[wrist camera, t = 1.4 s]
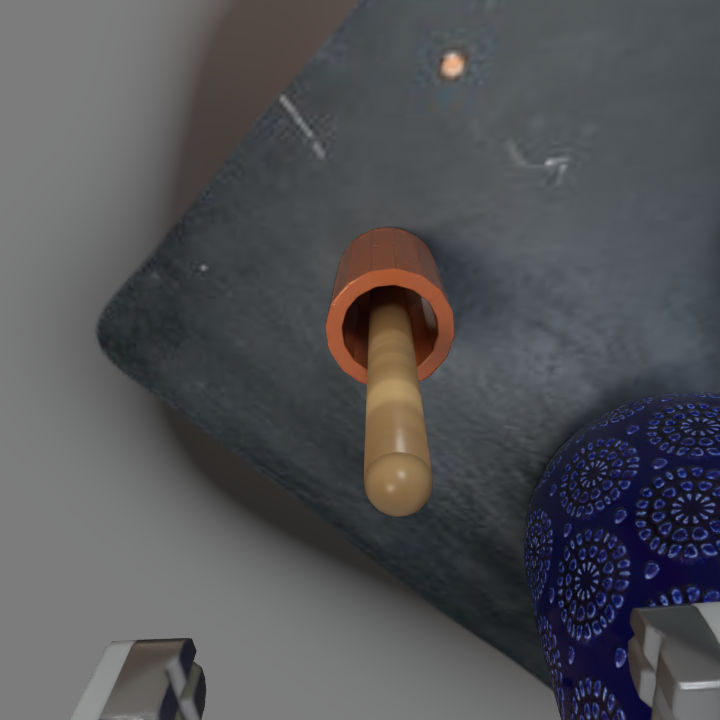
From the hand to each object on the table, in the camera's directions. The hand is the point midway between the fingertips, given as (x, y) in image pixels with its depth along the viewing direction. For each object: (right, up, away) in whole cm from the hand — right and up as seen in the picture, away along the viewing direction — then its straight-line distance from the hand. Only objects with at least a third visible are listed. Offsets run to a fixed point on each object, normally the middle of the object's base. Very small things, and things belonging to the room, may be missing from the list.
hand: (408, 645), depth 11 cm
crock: (+1, +10, +21) cm, 24 cm away
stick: (+1, +10, +21) cm, 23 cm away
